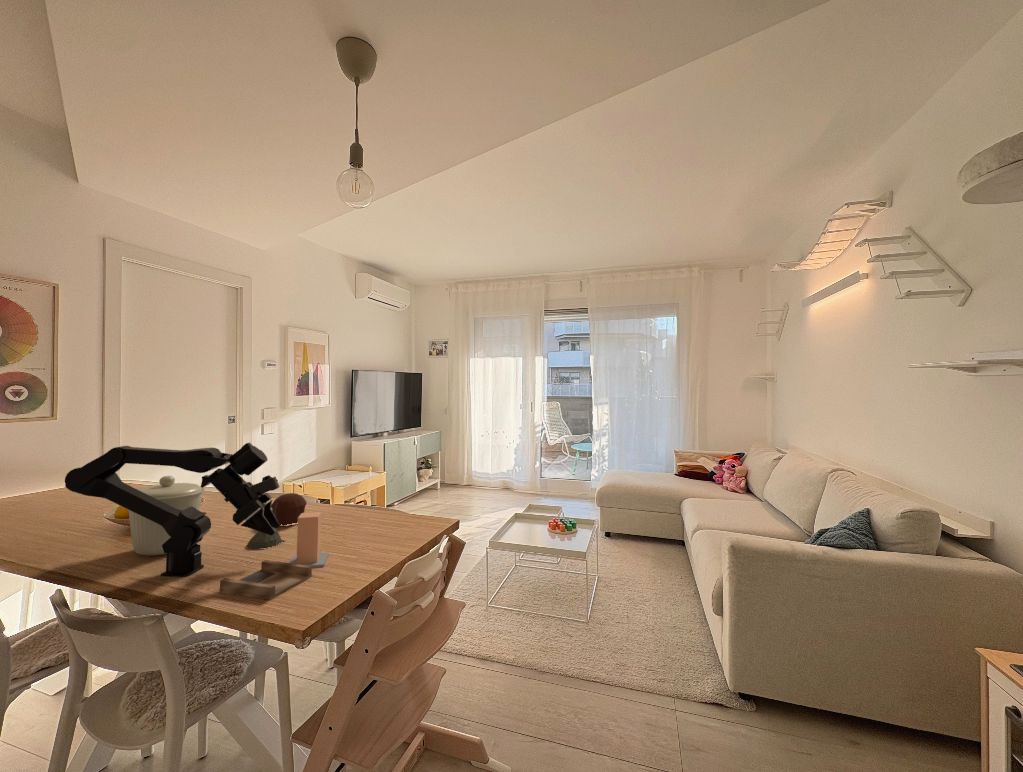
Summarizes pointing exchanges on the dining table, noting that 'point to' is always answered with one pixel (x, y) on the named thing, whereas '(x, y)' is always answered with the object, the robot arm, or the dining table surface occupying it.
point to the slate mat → (319, 563)
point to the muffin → (288, 508)
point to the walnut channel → (268, 580)
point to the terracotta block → (308, 537)
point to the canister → (177, 495)
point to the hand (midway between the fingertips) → (276, 530)
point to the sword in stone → (264, 539)
